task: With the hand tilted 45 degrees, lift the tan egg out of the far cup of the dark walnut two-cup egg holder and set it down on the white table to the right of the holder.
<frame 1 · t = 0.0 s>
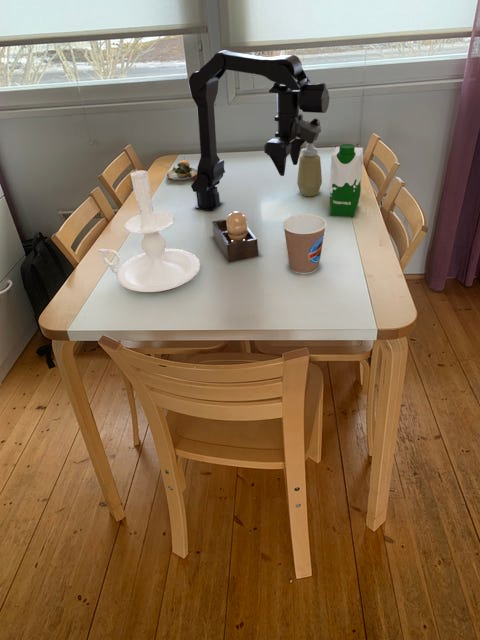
hand: (288, 170, 133), 15 cm above the table, tool pointing down, fingers open, 9 cm apart
milk carton: (343, 211, 143), on the table
egg holder: (235, 246, 129), on the table
egg: (238, 242, 125), point 3 cm above the table, touching egg holder
coffee cup: (304, 267, 118), on the table
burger: (183, 178, 176), on the table
squeeze bottle: (309, 193, 156), on the table
candlestick: (153, 280, 119), on the table
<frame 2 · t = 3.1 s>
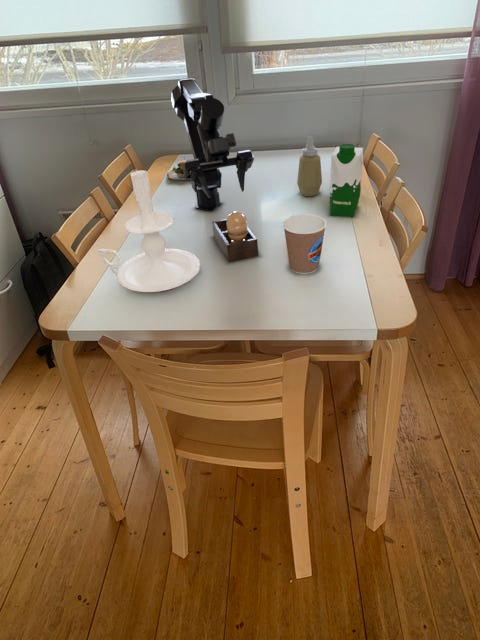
hand: (226, 194, 125), 13 cm above the table, tool tilted 45°, fingers open, 9 cm apart
nothing on the table moved.
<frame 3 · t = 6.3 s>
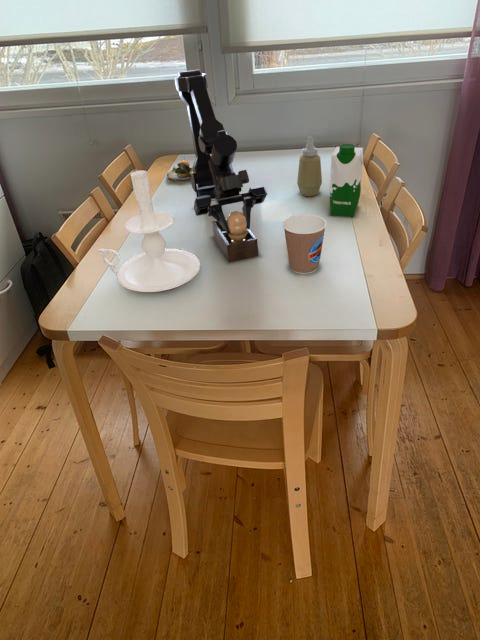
hand: (238, 230, 121), 7 cm above the table, tool tilted 45°, fingers closed on egg, 5 cm apart
egg: (238, 242, 125), point 3 cm above the table, touching egg holder, gripper
everything else where it was.
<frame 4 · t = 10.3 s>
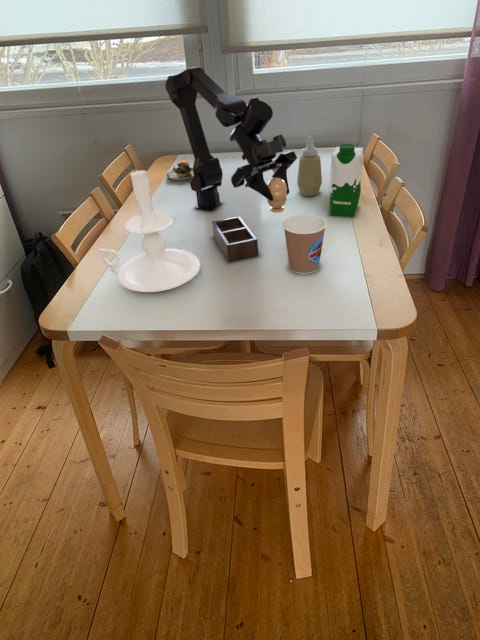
hand: (280, 196, 122), 13 cm above the table, tool tilted 45°, fingers closed on egg, 5 cm apart
egg: (277, 209, 125), point 9 cm above the table, touching gripper
everything else where it was.
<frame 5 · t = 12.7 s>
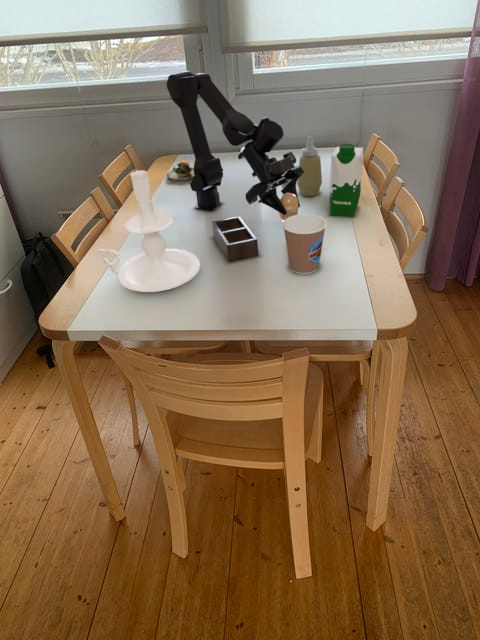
hand: (292, 210, 127), 8 cm above the table, tool tilted 45°, fingers closed on egg, 5 cm apart
egg: (288, 222, 131), point 4 cm above the table, touching gripper
everything else where it was.
when the fingers open (4 cm above the table, at t = 14.4 s): egg stays where it is, on the table.
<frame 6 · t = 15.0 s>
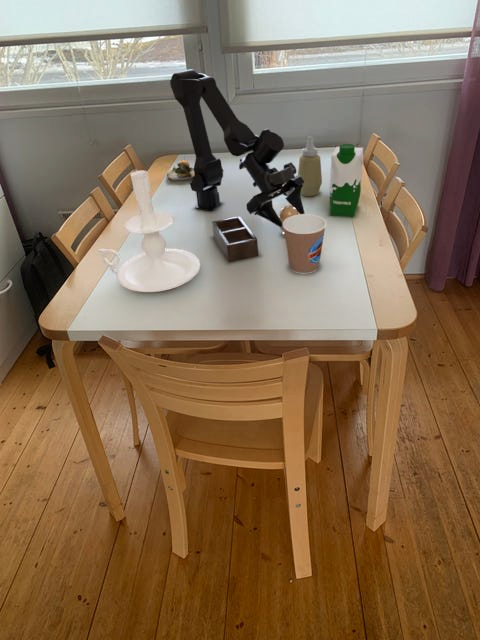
hand: (292, 220, 129), 5 cm above the table, tool tilted 45°, fingers open, 9 cm apart
egg: (289, 235, 133), on the table
everything else where it was.
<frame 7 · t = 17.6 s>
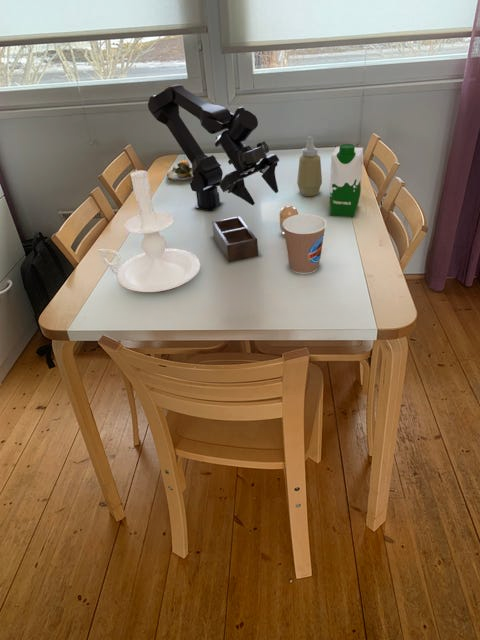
hand: (265, 198, 133), 9 cm above the table, tool tilted 40°, fingers open, 9 cm apart
nothing on the table moved.
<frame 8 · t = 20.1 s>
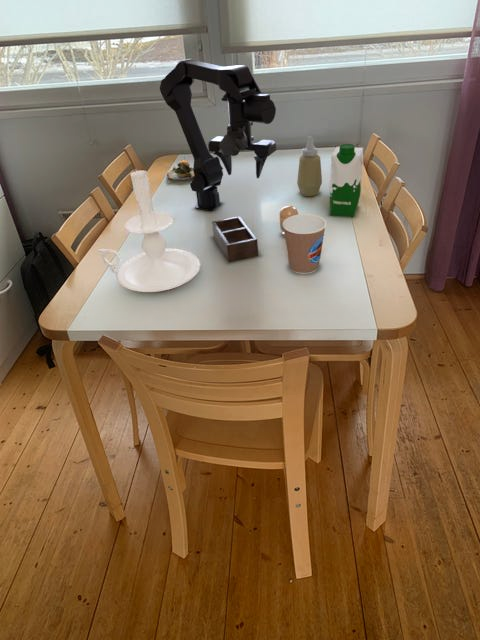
hand: (243, 176, 136), 13 cm above the table, tool pointing down, fingers open, 9 cm apart
nothing on the table moved.
at the end: egg inside the target area (0.1 cm from its centre), on the table; egg touching table; the gripper is holding nothing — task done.
